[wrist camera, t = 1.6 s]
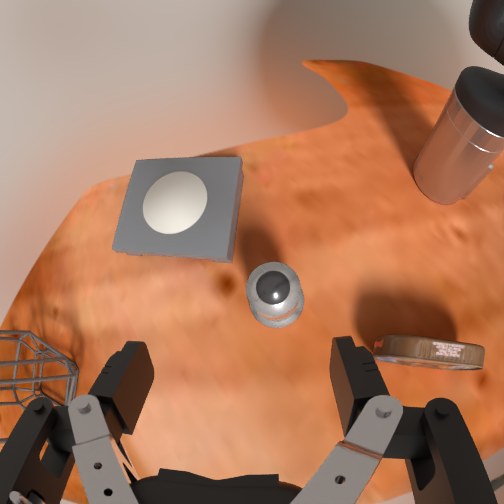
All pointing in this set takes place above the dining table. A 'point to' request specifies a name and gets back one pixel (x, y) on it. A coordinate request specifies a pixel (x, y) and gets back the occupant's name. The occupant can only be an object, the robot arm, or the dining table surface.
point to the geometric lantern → (34, 361)
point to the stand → (181, 208)
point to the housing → (275, 294)
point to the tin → (428, 352)
